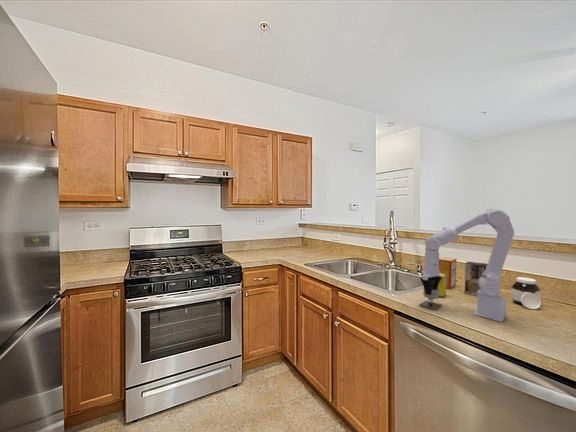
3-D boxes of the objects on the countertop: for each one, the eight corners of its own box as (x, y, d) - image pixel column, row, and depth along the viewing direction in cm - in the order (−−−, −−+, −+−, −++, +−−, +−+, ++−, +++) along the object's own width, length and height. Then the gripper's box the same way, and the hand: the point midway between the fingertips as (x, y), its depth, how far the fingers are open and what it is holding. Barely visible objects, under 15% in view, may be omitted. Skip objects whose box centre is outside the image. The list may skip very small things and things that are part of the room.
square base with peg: (441, 306, 121) (442, 297, 121) (435, 310, 116) (436, 300, 116) (425, 302, 126) (425, 293, 126) (419, 305, 121) (419, 296, 121)
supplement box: (432, 292, 140) (433, 272, 140) (445, 295, 136) (446, 274, 136) (430, 295, 135) (430, 274, 135) (443, 298, 132) (444, 276, 131)
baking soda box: (442, 283, 157) (443, 256, 156) (455, 286, 152) (456, 258, 151) (437, 286, 150) (438, 258, 150) (450, 289, 146) (451, 260, 145)
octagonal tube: (439, 297, 121) (439, 288, 120) (434, 299, 117) (435, 290, 117) (427, 294, 125) (427, 285, 125) (422, 296, 121) (422, 287, 121)
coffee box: (487, 294, 137) (488, 263, 137) (485, 297, 133) (486, 265, 132) (466, 290, 143) (467, 261, 143) (464, 293, 139) (465, 262, 138)
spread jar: (525, 300, 130) (526, 276, 129) (552, 309, 118) (553, 283, 118) (504, 301, 127) (505, 277, 127) (529, 310, 116) (530, 284, 116)
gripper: (428, 259, 128) (428, 287, 129) (415, 263, 119) (414, 294, 119) (445, 262, 123) (444, 291, 123) (432, 266, 113) (431, 298, 114)
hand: (430, 293), depth 121 cm, fingers closed on octagonal tube, 5 cm apart
